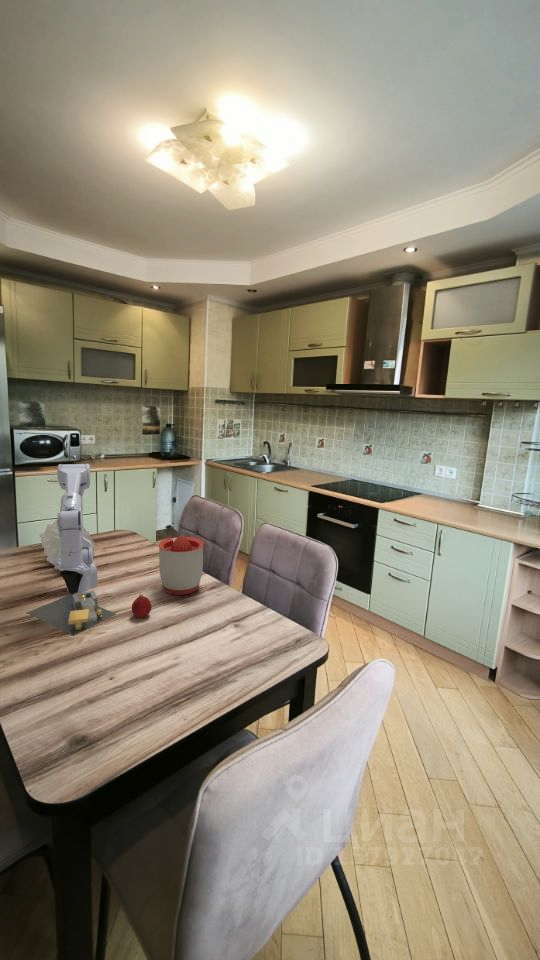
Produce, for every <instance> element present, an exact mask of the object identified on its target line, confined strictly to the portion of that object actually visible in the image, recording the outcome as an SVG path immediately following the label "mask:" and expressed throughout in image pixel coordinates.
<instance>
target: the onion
mask: <svg viewBox="0 0 540 960" xmlns="http://www.w3.org/2000/svg"><path fill="white" fill-rule="evenodd" d="M152 607H153V606H152V601H150V598H149V597H147V596H145V595H143V593H140V594H139V596H138V597H136V598H135V600H133V602H132V604H131V612H132V614H133V615H134V616H135V617H137V618H138V619H144V618H145V617H147V616H148V615H150V612H151V610H152Z"/></svg>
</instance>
